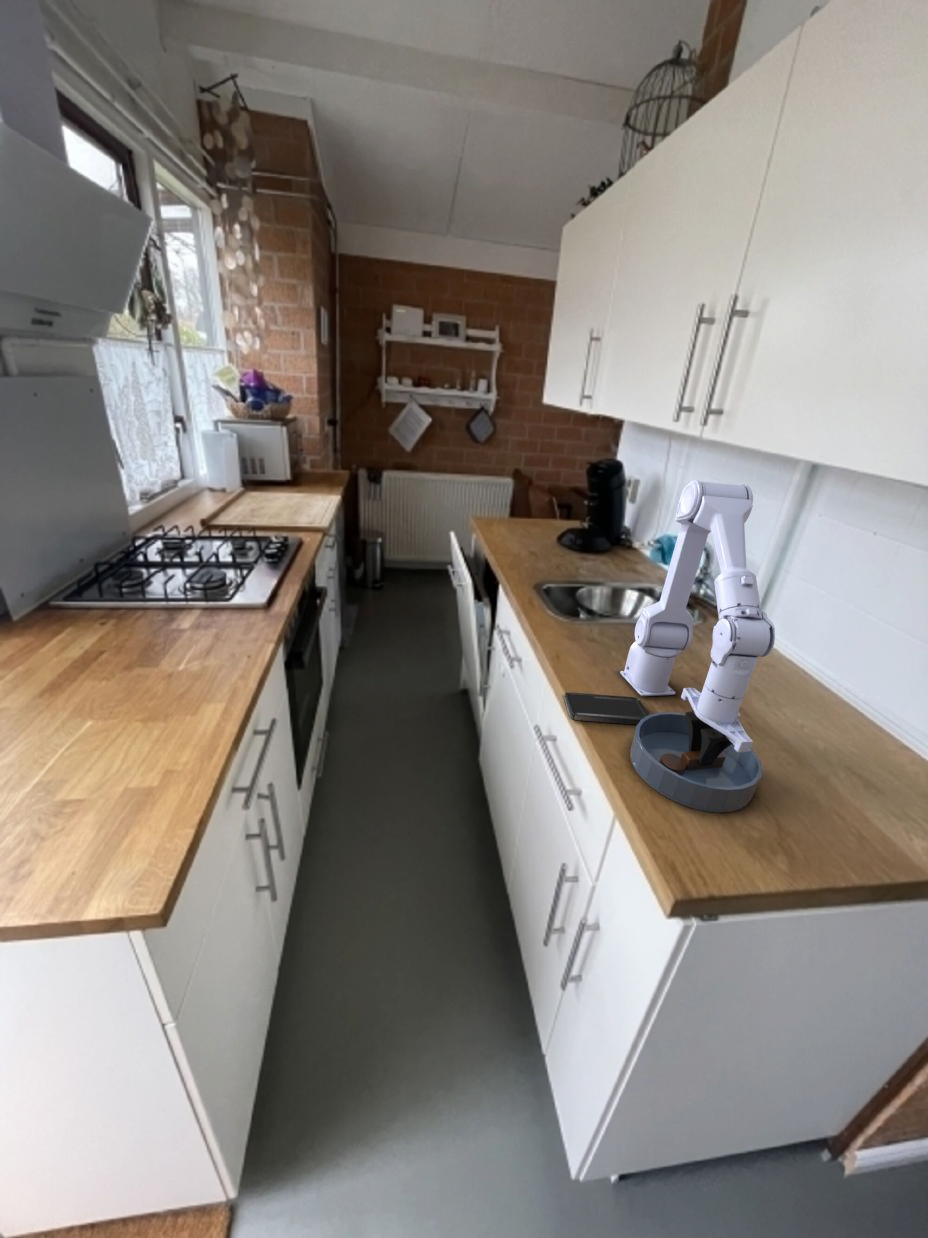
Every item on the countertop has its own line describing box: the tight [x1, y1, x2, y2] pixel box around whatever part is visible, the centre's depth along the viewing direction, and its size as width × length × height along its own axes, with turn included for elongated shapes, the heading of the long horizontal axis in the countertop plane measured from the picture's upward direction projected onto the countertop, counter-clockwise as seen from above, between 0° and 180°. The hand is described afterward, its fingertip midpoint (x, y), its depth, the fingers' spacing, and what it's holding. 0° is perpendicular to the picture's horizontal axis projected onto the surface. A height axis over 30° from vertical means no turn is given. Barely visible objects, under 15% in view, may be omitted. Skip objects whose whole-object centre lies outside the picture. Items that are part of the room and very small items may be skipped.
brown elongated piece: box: [659, 751, 726, 775], centre depth 84 cm, size 11×4×2 cm, turn 102°
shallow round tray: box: [629, 711, 764, 814], centre depth 84 cm, size 19×19×4 cm
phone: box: [563, 691, 650, 726], centre depth 98 cm, size 8×1×15 cm
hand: (699, 758), depth 84 cm, fingers closed on brown elongated piece, 2 cm apart
